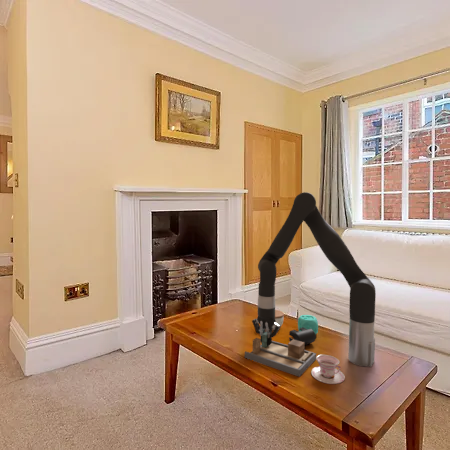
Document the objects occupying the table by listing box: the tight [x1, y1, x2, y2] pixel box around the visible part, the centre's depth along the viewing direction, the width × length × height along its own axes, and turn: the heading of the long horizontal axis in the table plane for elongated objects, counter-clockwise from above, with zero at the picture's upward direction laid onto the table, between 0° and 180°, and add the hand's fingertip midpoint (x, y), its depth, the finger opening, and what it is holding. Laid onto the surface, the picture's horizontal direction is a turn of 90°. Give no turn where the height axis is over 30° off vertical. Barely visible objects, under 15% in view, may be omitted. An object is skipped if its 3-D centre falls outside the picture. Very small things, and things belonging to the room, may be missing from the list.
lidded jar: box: [272, 309, 285, 331], centre depth 163 cm, size 11×11×9 cm
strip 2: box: [261, 331, 313, 362], centre depth 132 cm, size 20×8×6 cm, turn 54°
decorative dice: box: [297, 314, 319, 335], centre depth 156 cm, size 8×8×8 cm
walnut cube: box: [287, 338, 306, 359], centre depth 129 cm, size 5×5×5 cm
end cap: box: [288, 327, 317, 346], centre depth 143 cm, size 10×7×7 cm
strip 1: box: [252, 337, 302, 369], centre depth 126 cm, size 20×5×6 cm, turn 54°
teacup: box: [310, 354, 346, 385], centre depth 117 cm, size 12×12×6 cm
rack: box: [244, 340, 317, 377], centre depth 130 cm, size 24×17×2 cm
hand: (265, 344), depth 138 cm, fingers closed on strip 2, 2 cm apart
